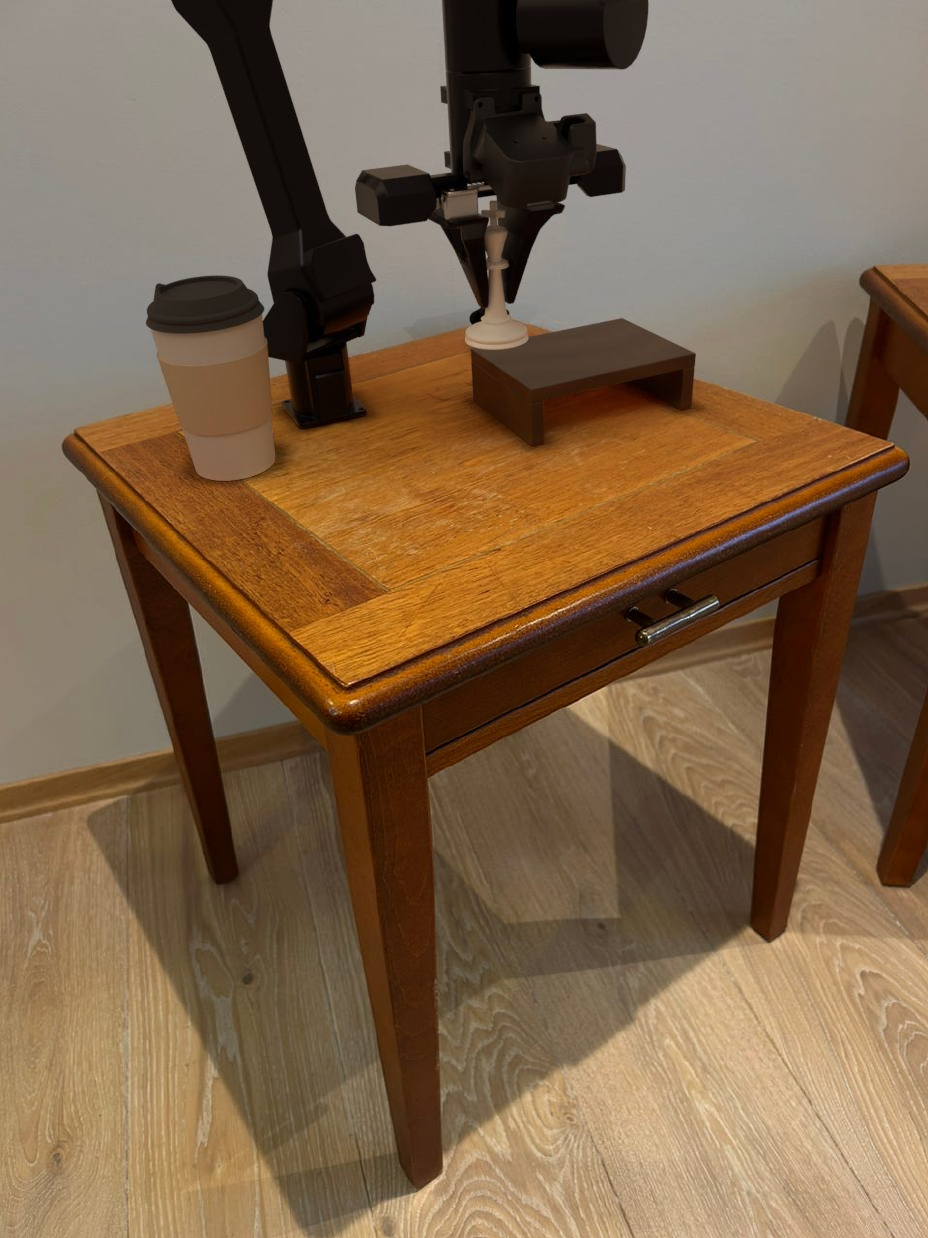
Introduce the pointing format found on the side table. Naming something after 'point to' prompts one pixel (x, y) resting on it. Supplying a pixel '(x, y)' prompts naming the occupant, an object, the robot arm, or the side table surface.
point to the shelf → (577, 371)
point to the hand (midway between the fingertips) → (496, 304)
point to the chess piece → (495, 295)
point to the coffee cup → (216, 372)
